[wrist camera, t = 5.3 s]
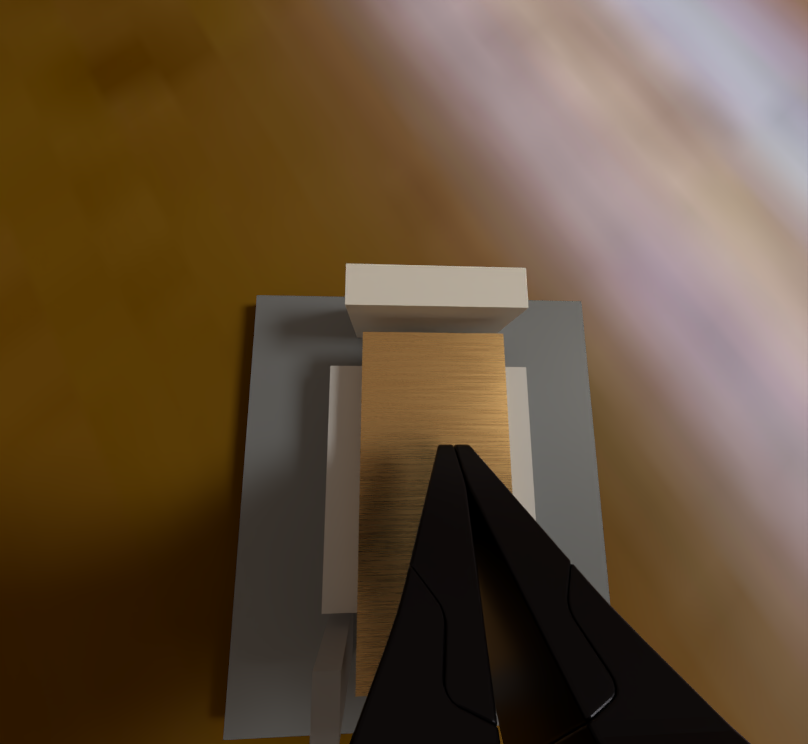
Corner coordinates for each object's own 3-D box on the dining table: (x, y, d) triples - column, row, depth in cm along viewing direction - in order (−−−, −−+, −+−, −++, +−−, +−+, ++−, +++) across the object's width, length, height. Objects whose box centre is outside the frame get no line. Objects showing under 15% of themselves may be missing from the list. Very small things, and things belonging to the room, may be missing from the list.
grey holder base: (603, 696, 13) (734, 862, 8) (236, 714, 12) (135, 910, 7) (569, 308, 16) (652, 257, 11) (265, 303, 15) (205, 245, 10)
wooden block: (523, 688, 9) (503, 333, 11) (355, 696, 9) (362, 331, 11) (510, 663, 10) (494, 340, 12) (358, 669, 10) (364, 339, 12)
